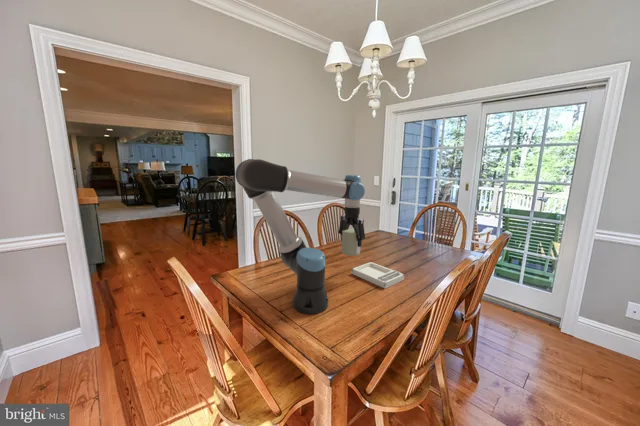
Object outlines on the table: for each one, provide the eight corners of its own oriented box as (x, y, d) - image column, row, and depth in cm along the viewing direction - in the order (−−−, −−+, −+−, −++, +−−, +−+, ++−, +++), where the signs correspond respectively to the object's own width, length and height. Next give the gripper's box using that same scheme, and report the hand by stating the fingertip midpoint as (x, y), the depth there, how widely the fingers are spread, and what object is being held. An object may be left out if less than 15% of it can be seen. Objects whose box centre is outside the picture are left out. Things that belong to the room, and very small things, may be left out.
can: (359, 256, 129) (360, 232, 126) (340, 255, 131) (341, 231, 128) (360, 250, 138) (361, 228, 135) (342, 249, 139) (343, 227, 137)
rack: (385, 288, 126) (385, 281, 125) (351, 273, 143) (352, 266, 142) (403, 279, 136) (404, 272, 136) (370, 266, 153) (371, 260, 152)
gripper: (374, 208, 124) (372, 254, 128) (342, 203, 140) (341, 243, 144) (363, 210, 119) (362, 257, 123) (331, 204, 135) (331, 246, 140)
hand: (350, 249), depth 134 cm, fingers closed on can, 9 cm apart
